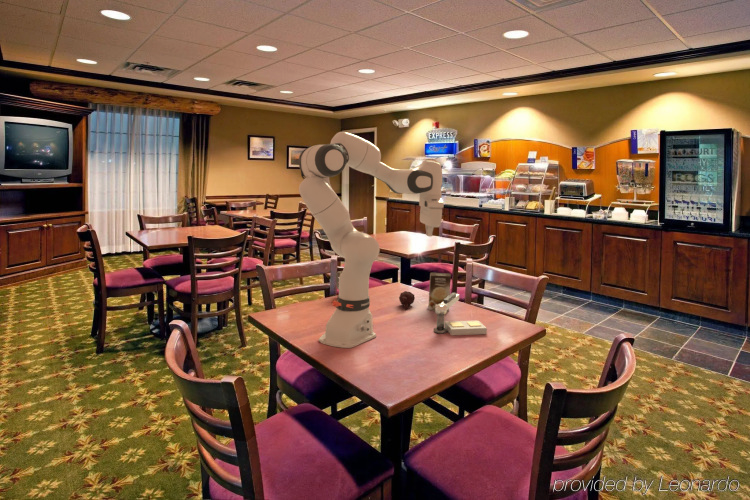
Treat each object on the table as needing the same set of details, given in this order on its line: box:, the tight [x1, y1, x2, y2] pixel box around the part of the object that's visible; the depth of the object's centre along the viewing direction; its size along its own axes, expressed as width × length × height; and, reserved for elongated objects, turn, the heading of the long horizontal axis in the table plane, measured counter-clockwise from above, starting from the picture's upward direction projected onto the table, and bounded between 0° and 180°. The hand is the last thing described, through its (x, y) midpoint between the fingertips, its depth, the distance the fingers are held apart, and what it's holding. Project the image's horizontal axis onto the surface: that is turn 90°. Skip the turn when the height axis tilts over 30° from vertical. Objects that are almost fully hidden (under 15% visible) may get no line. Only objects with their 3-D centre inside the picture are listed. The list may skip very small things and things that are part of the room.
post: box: [433, 313, 448, 334], centre depth 171 cm, size 5×5×7 cm
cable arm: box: [434, 292, 460, 315], centre depth 178 cm, size 22×4×4 cm, turn 153°
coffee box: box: [427, 272, 452, 312], centre depth 199 cm, size 9×6×16 cm
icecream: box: [398, 290, 416, 310], centre depth 205 cm, size 7×7×15 cm
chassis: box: [444, 319, 488, 336], centre depth 173 cm, size 14×9×3 cm, turn 98°
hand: (429, 236), depth 181 cm, fingers closed
